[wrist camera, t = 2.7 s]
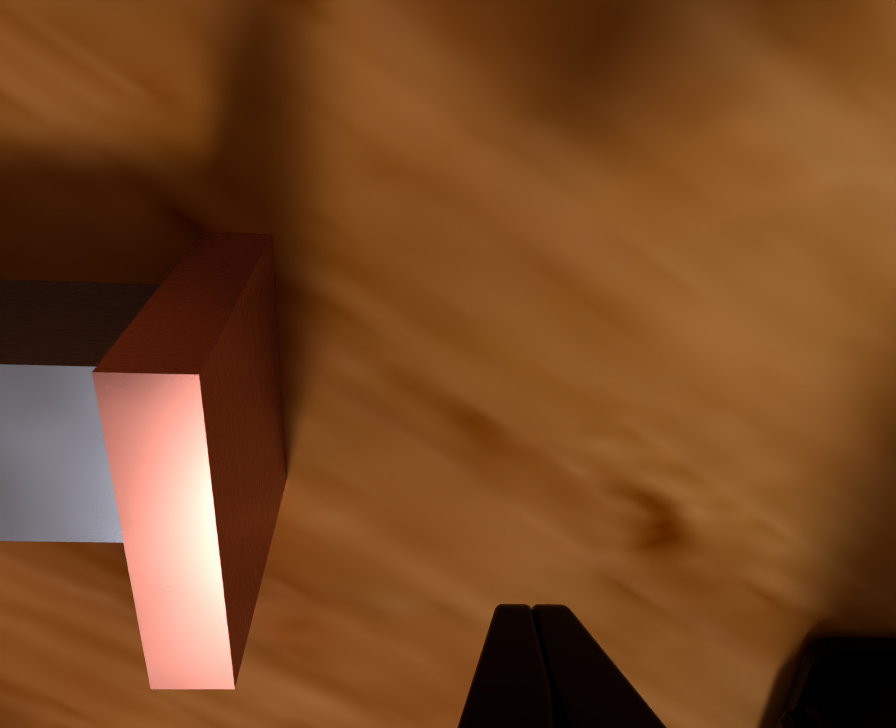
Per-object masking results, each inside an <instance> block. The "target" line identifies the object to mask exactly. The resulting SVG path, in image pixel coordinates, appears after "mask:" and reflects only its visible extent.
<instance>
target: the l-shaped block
mask: <svg viewBox="0 0 896 728" xmlns="http://www.w3.org/2000/svg"><path fill="white" fill-rule="evenodd" d="M286 480H287V476H286V458H285V441H284V424H283V407H282V390H281V373H280V355H279V338H278V321H277V304H276V287H275V270H274V253H273V235H271V234H242V233H213V232H202V233H201V235H200V236H199V237H198V238H197V240H196V241H195V242H194V243H193V245H192V246H191V247H190V249H189V250H188V251H187V252H186V254H185V255H184V256H183V257H182V259H181V260H180V261H179V262H178V264H177V265H176V266H175V267H174V269H173V270H172V271H171V273H170V274H169V275H168V276H167V278H166V279H165V280H164V281H163V283H162V284H161V285H157V284H124V283H90V282H57V281H24V280H0V541H51V542H123V543H124V548H125V554H126V559H127V564H128V570H129V575H130V580H131V586H132V591H133V597H134V602H135V607H136V613H137V618H138V623H139V629H140V634H141V640H142V645H143V650H144V656H145V661H146V666H147V672H148V677H149V683H150V688H151V689H235V686H236V682H237V678H238V674H239V670H240V666H241V662H242V658H243V654H244V650H245V646H246V641H247V637H248V633H249V629H250V625H251V621H252V617H253V613H254V609H255V605H256V601H257V597H258V593H259V589H260V585H261V581H262V577H263V573H264V569H265V565H266V561H267V557H268V553H269V548H270V544H271V540H272V536H273V532H274V528H275V524H276V520H277V516H278V512H279V508H280V504H281V500H282V496H283V492H284V488H285V484H286Z"/></svg>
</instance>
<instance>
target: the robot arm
mask: <svg viewBox="0 0 896 728" xmlns="http://www.w3.org/2000/svg"><path fill="white" fill-rule="evenodd" d="M458 728H666V727H665V725H664V724H663V723H662V722H661V720H660V719H659V718H658V717H657V715H656V714H655V713H654V712H653V711H652V709H651V708H650V707H649V706H648V704H647V703H646V702H645V701H644V700H643V698H642V697H641V696H640V695H639V693H638V692H637V691H636V690H635V688H634V687H633V686H632V685H631V684H630V682H629V681H628V680H627V679H626V677H625V676H624V675H623V674H622V673H621V671H620V670H619V669H618V668H617V666H616V665H615V664H614V663H613V661H612V660H611V659H610V658H609V657H608V655H607V654H606V653H605V652H604V650H603V649H602V648H601V647H600V645H599V644H598V643H597V642H596V641H595V639H594V638H593V637H592V636H591V634H590V633H589V632H588V631H587V630H586V628H585V627H584V626H583V625H582V623H581V622H580V621H579V620H578V618H577V617H576V616H575V615H574V614H573V612H572V611H571V610H570V609H569V608H568V607H567V606H565V605H555V604H537V605H535V606H533V607H532V609H531V608H530V606H528V605H526V604H499V605H498V606H497V607H496V608H495V611H494V614H493V617H492V620H491V624H490V627H489V630H488V633H487V636H486V639H485V643H484V646H483V649H482V652H481V655H480V658H479V662H478V665H477V668H476V671H475V674H474V677H473V681H472V684H471V687H470V690H469V693H468V697H467V700H466V703H465V706H464V709H463V712H462V716H461V719H460V722H459V725H458ZM776 728H896V638H844V637H829V638H822V639H819V640H817V641H814V642H813V643H811V644H810V645H809V646H808V647H807V648H806V650H805V651H804V653H803V656H802V658H801V661H800V664H799V667H798V669H797V672H796V675H795V677H794V680H793V683H792V686H791V688H790V691H789V694H788V697H787V699H786V702H785V705H784V708H783V710H782V713H781V716H780V719H779V720H778V722H777V725H776Z"/></svg>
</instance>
